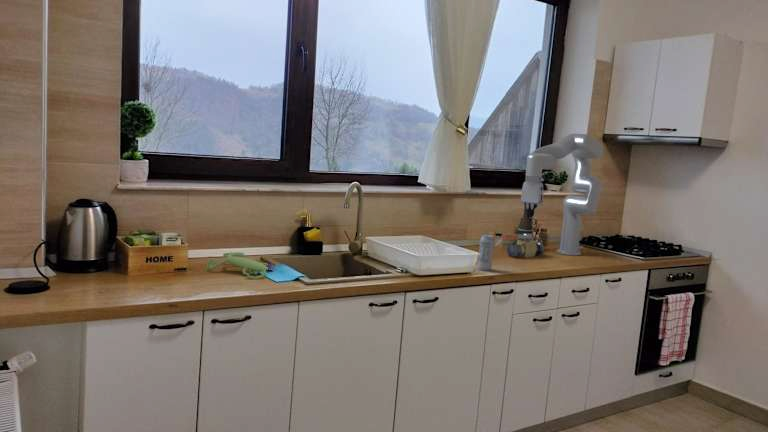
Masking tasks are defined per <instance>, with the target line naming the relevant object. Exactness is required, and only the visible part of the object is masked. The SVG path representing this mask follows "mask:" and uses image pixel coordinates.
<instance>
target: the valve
mask: <svg viewBox="0 0 768 432" xmlns="http://www.w3.org/2000/svg"><path fill="white" fill-rule="evenodd" d="M516 243H517V244H516ZM516 243H515V242H513V243H509V244H508V245H507V247H506V253H507V255H508V256H509V257H510V258H517V257H519V258H520V257H521V258H524V259H526V258H527V259H528V258H535V256H542V255H543V254H544V253H545V246H544V243H542V242H541V241H536V240H532V239H531V240H528V239H524V240H517V239H516Z"/></svg>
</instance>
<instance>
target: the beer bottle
mask: <svg viewBox="0 0 768 432" xmlns="http://www.w3.org/2000/svg"><path fill="white" fill-rule="evenodd" d="M523 208H524V209H523V214H522V220H521V221H520V222H519V224H518V226H517V227H518V228H517V234H523V233H529V234H532V235H533V227H534V226H533V223H532V221H531V218H530V217H527V208H526V206H525V205H523ZM517 240H524V239H516V241H517ZM515 244H517V242H516V243H515Z"/></svg>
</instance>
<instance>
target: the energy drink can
mask: <svg viewBox="0 0 768 432" xmlns="http://www.w3.org/2000/svg"><path fill="white" fill-rule="evenodd" d="M479 240H480V241H479V248H478V259H477V268H478V270H480V271H488V272H489V271H491V269H492V266H493V255H494V245H495V239H494V236H493V235H490V234H489V235H488V234H482V235H481V238H480V239H479ZM479 254H480V255H479Z"/></svg>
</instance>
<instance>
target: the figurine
mask: <svg viewBox="0 0 768 432" xmlns="http://www.w3.org/2000/svg"><path fill="white" fill-rule="evenodd" d="M222 256H223V257H225V259H223V260H222V261H220V262H217V263H216V264H215V261H216V259H215V258H211V259H210V260H209V261H208V262H207V264H206V266H205V269H204V270H205V271H208V270H215V269H216V268H218V267H220V266H222V265H224V264H226V263H229V264H231V265H233V266H235V267H238V268H241V269H240V271H241V273H242V274H243V275H244V276H247V278H248V279H250V280H260V279H264V278H265V276H266V275H267V271H270V270H271V269H273V270H274V268H275V264H272V263H270V262H260V261H259V262H258V261H256V260H254V259H250V258H245V257H246V254H245V253H244V252H237V251H236V252H225V253H223V255H222ZM269 269H270V270H269ZM247 270H250V271H251V272H246V271H247ZM258 272H260V273H261V272H262V273H261V274H260V275H257V274H258ZM252 274H254V275H257V276H252Z"/></svg>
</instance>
